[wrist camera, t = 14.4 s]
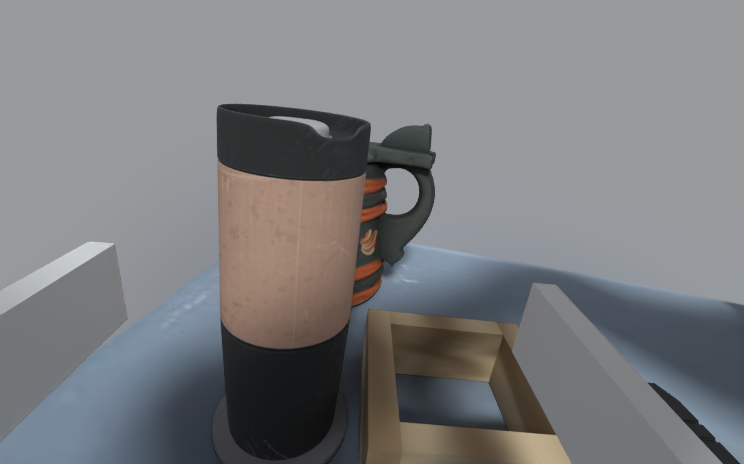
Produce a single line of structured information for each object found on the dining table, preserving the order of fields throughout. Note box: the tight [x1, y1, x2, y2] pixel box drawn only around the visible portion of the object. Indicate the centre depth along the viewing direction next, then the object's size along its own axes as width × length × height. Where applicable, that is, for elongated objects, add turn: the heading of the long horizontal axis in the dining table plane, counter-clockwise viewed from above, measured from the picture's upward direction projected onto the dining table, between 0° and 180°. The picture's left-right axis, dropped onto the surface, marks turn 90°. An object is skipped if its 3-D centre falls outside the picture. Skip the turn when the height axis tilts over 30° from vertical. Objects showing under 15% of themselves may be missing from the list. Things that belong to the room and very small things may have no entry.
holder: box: [359, 309, 572, 464], centre depth 26 cm, size 13×13×5 cm
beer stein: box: [351, 124, 436, 307], centre depth 41 cm, size 19×15×20 cm
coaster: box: [212, 390, 347, 464], centre depth 26 cm, size 9×9×1 cm
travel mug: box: [217, 104, 371, 461], centre depth 22 cm, size 8×8×20 cm
